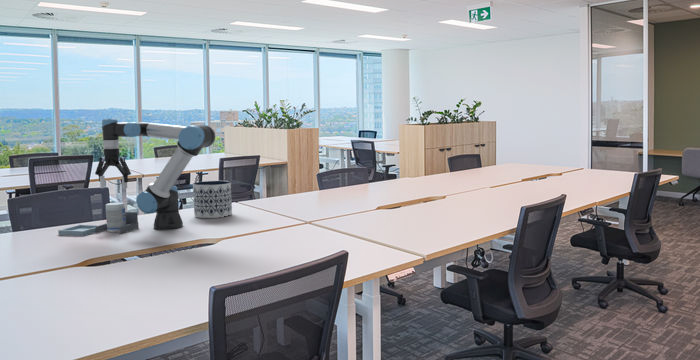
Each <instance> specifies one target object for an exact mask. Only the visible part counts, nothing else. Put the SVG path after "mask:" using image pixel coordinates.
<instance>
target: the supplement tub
mask: <svg viewBox="0 0 700 360" xmlns="http://www.w3.org/2000/svg"><path fill="white" fill-rule="evenodd" d="M125 204H126V203H125V202H110V203H109V202H108V203H106V204H105V216H106V217H105V218H106V223H107V230H106V231H107V232H108V233H119V227H121V226H125V225H126V213H125V212H126V205H125Z"/></svg>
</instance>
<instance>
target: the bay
mask: <svg viewBox="0 0 700 360" xmlns="http://www.w3.org/2000/svg"><path fill="white" fill-rule="evenodd" d="M125 213H126V225H125V226H121V227H119V232H118V234H120V235H123V234H125V233H128V232H132V231H134V230H138V229H139V220H138V219H139V217H138V211H125ZM97 225H98V226H96V232H95V233H97V234H98V233H102V232H106V231H107V222H106V223H102V224H97Z"/></svg>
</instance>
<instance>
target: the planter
mask: <svg viewBox="0 0 700 360" xmlns="http://www.w3.org/2000/svg"><path fill="white" fill-rule="evenodd" d="M192 191H193V193H192V195H193V212H194V217H196V218H197V217H198V219H205V218H211V219H220V218H219V217H222V218H225V217H224V216H227V217H229V216H228V215H230V216H232V214H233V206H232V203H233V202H232V200H233V199H232V183H231V181H229V180H205V181H196V182H193V183H192Z"/></svg>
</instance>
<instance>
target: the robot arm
mask: <svg viewBox="0 0 700 360" xmlns="http://www.w3.org/2000/svg"><path fill="white" fill-rule="evenodd" d="M101 122H102V123H101V129H102V145H103V146H102V147H103V156H101V157H99V160H98V161H99V162H98V164H97V167H96V169H95V173H94V175H96V176H98V182H99V185H100V189H105V188H106V178H105V173H106V171H107V170H108V169H109V168H110V167H111V166H112V167H116V168H117V170H118V171H119V173H120V174H121V175H122V176H121V182H122V185H121V186H122V189H128V182H129V177H128V176H131V175H132V172H131V170H130V169H129V167H128V165H127V163H126V158H125V157H123V156H122V157H120V155H121V154H120V149H119V148H120V143H119V141H120V140H119V137H120V138H121V137H122V138H123V137H124V138H134V137H148V138H149V137H150V138H156V139H157V138H158V139H166V140H175V141H177V142H176V146H177V147H176V149H175V151H174V152H173V153H172V155H171V157H170V158H169V160H168V162H167V163H166V164H165V166H164V168H162V171H160V174H159V175H158V177H156V179H155V180H154V182H151V183H149V184H148V185H147V187H146V189H145V190H143V191H141V192H140V193H139V194H137V196H136V205H137V208H138V210H139V211H140V212H142V213H144V214H148V215H150V214H154V213H155V214H156V215H155V218H154V223H153V229H154V230H161V231H162V230H163V231H164V230H173V229H180V228H183V226H184V225H183V223H184V222H183V220H182V218H181V214H180V211H179V206H180V205H179V191H178V186H176V185H175V184H176V182H177V180H178V179H179V177H180V176H181V175H182V173H183V172H184V171H185V169H186V167H187V166H188V164H189V163H190V161H191V160H192V159H193V157H197V156H198V155H199V154H200V153H201V151H202V150H203V149H204V148H205V149H206V148H209V147H211V146H212V145H213V144H214V143H215V140H216V132H215V130H214V129H213V128H212V127H211V126H209V125H206V124H201V125H199V124H190V125H187V126H184V125H176V124H175V125H173V124H165V123H156V122H148V121H128V122H127V121H125V122H122V121H121V122H119V120H118V119H117V118H103V119H102V120H101Z"/></svg>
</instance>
